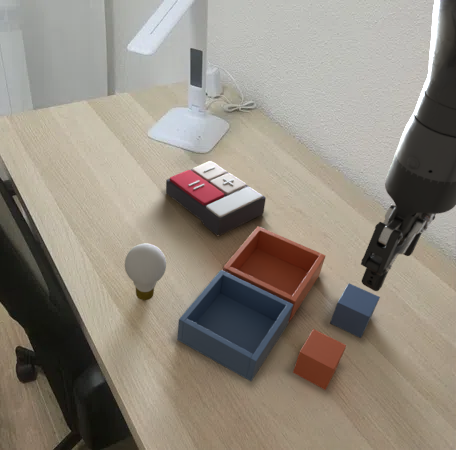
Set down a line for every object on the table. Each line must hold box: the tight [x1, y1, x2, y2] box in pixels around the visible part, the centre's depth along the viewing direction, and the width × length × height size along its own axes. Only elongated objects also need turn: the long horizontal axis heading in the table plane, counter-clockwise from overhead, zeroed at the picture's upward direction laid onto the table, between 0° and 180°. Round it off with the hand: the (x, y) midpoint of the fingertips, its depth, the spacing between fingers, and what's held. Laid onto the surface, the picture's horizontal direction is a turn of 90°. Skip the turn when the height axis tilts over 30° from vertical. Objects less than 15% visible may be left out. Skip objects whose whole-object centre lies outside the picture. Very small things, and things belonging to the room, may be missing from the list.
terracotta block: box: [292, 328, 347, 391], centre depth 73 cm, size 5×5×5 cm
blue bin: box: [176, 269, 293, 382], centre depth 77 cm, size 12×12×4 cm
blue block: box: [329, 282, 381, 339], centre depth 79 cm, size 5×5×5 cm
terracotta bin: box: [222, 226, 327, 323], centre depth 85 cm, size 12×12×4 cm
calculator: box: [165, 160, 266, 237], centre depth 99 cm, size 11×4×15 cm
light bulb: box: [124, 242, 167, 301], centre depth 80 cm, size 6×6×10 cm
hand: (386, 268), depth 68 cm, fingers open, 8 cm apart
